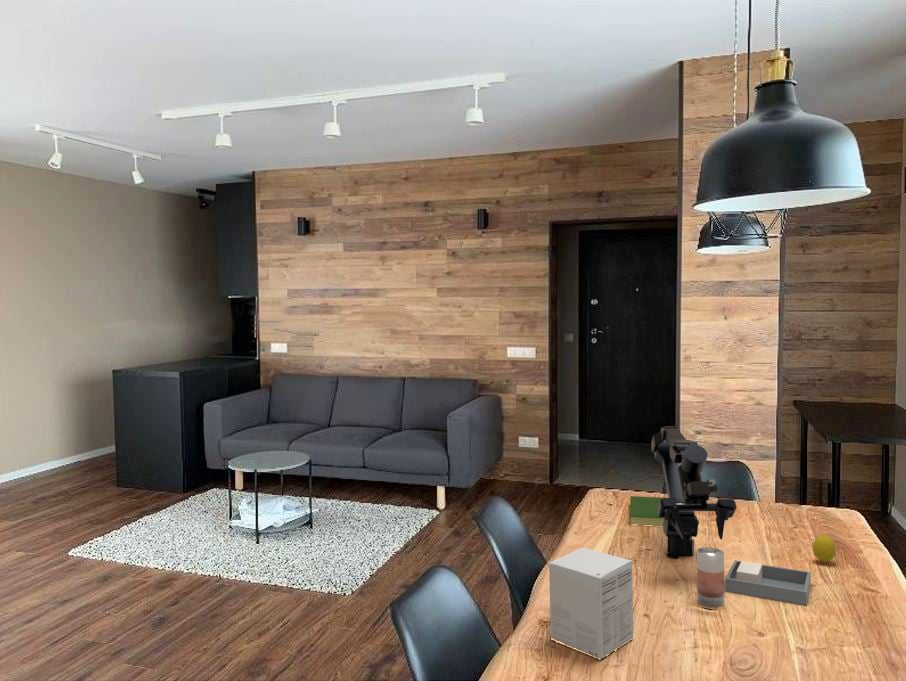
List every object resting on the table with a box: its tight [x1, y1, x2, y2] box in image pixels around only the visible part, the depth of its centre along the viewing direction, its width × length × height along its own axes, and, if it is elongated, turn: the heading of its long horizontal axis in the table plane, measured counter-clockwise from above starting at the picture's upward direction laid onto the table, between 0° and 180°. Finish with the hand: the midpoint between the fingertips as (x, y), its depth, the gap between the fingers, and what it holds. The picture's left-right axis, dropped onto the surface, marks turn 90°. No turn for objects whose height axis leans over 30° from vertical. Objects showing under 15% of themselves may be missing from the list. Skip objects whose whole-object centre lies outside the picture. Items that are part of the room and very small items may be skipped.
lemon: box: [812, 534, 837, 564], centre depth 192 cm, size 6×6×8 cm
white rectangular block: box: [737, 560, 763, 583], centre depth 177 cm, size 5×8×4 cm, turn 149°
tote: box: [724, 560, 812, 606], centre depth 174 cm, size 18×14×4 cm
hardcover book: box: [629, 495, 664, 526], centre depth 238 cm, size 25×19×4 cm
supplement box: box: [548, 547, 634, 659], centre depth 151 cm, size 13×13×18 cm
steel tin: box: [696, 546, 725, 611], centre depth 167 cm, size 6×6×13 cm
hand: (702, 538), depth 174 cm, fingers open, 9 cm apart
